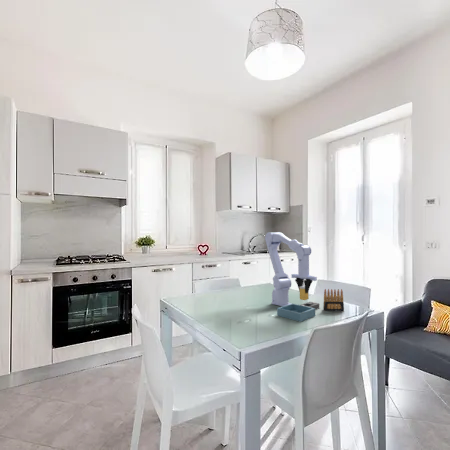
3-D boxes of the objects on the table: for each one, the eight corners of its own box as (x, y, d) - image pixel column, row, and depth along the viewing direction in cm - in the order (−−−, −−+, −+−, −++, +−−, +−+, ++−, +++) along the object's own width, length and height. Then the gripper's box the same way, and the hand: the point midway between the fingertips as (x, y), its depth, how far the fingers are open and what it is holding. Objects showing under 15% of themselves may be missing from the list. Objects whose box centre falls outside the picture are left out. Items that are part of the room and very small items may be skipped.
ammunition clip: (324, 310, 159) (323, 289, 160) (323, 309, 161) (323, 288, 161) (344, 311, 158) (343, 289, 159) (343, 310, 160) (342, 288, 160)
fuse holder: (296, 310, 160) (296, 305, 160) (309, 305, 169) (309, 300, 169) (306, 312, 156) (306, 307, 156) (319, 307, 165) (319, 302, 165)
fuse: (299, 299, 158) (299, 286, 158) (303, 298, 161) (303, 285, 161) (304, 300, 156) (304, 287, 156) (308, 298, 159) (308, 286, 159)
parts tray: (277, 315, 151) (277, 308, 151) (292, 310, 161) (292, 303, 161) (300, 321, 141) (300, 313, 141) (315, 315, 150) (315, 308, 150)
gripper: (319, 268, 156) (319, 293, 156) (296, 265, 166) (296, 289, 166) (312, 269, 151) (313, 295, 151) (289, 266, 162) (289, 291, 161)
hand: (303, 292), depth 158 cm, fingers closed on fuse, 3 cm apart
